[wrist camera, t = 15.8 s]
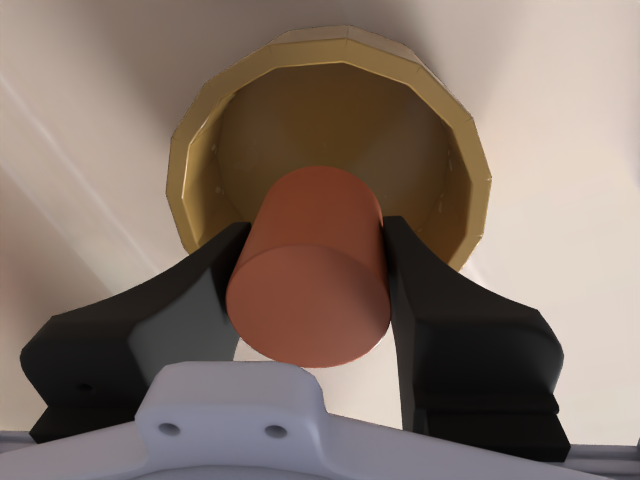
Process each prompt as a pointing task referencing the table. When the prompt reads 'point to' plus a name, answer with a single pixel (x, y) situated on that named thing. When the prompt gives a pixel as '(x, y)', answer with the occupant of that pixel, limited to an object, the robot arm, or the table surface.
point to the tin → (331, 138)
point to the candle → (313, 272)
